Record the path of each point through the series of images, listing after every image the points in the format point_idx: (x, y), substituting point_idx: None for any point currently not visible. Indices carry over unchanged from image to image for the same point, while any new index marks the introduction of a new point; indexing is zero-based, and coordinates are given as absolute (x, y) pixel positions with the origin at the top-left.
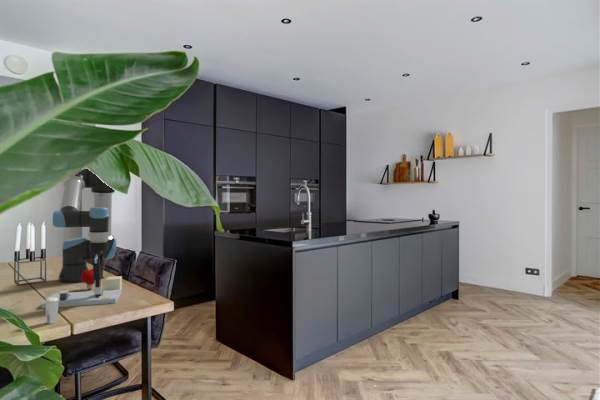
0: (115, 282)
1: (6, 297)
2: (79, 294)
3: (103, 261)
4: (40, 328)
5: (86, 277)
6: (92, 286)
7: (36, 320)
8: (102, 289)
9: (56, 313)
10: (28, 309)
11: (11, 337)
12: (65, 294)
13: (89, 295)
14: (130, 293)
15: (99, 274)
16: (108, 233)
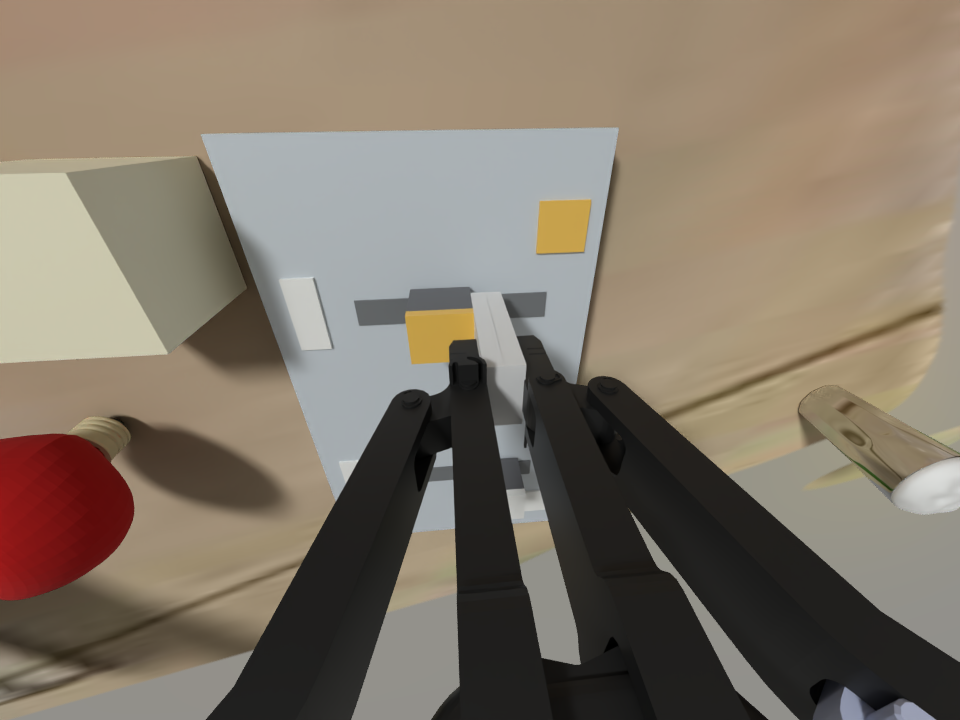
0: (139, 228)
1: None
2: None
3: (274, 634)
4: None
5: (110, 520)
6: (91, 424)
7: (737, 457)
8: (425, 306)
9: (885, 412)
10: (542, 527)
11: None
12: (523, 486)
13: (433, 371)
14: (209, 2)
15: (665, 421)
16: None
